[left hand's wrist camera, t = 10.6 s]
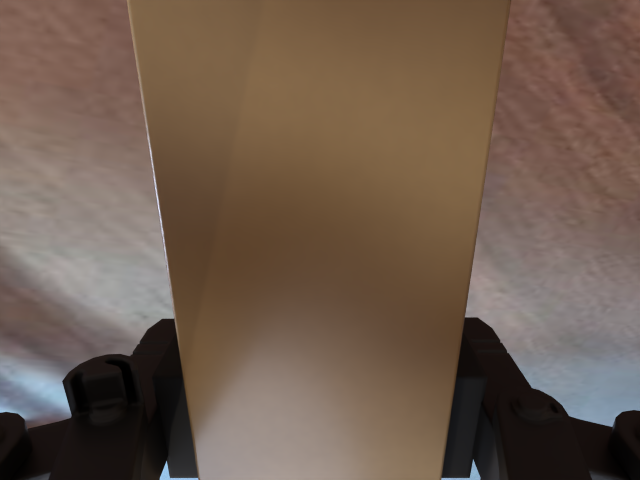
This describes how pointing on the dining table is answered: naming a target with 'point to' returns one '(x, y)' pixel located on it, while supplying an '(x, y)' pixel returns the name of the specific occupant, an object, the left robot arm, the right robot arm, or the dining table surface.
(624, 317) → the dining table surface
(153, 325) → the left robot arm
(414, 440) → the wooden beam
